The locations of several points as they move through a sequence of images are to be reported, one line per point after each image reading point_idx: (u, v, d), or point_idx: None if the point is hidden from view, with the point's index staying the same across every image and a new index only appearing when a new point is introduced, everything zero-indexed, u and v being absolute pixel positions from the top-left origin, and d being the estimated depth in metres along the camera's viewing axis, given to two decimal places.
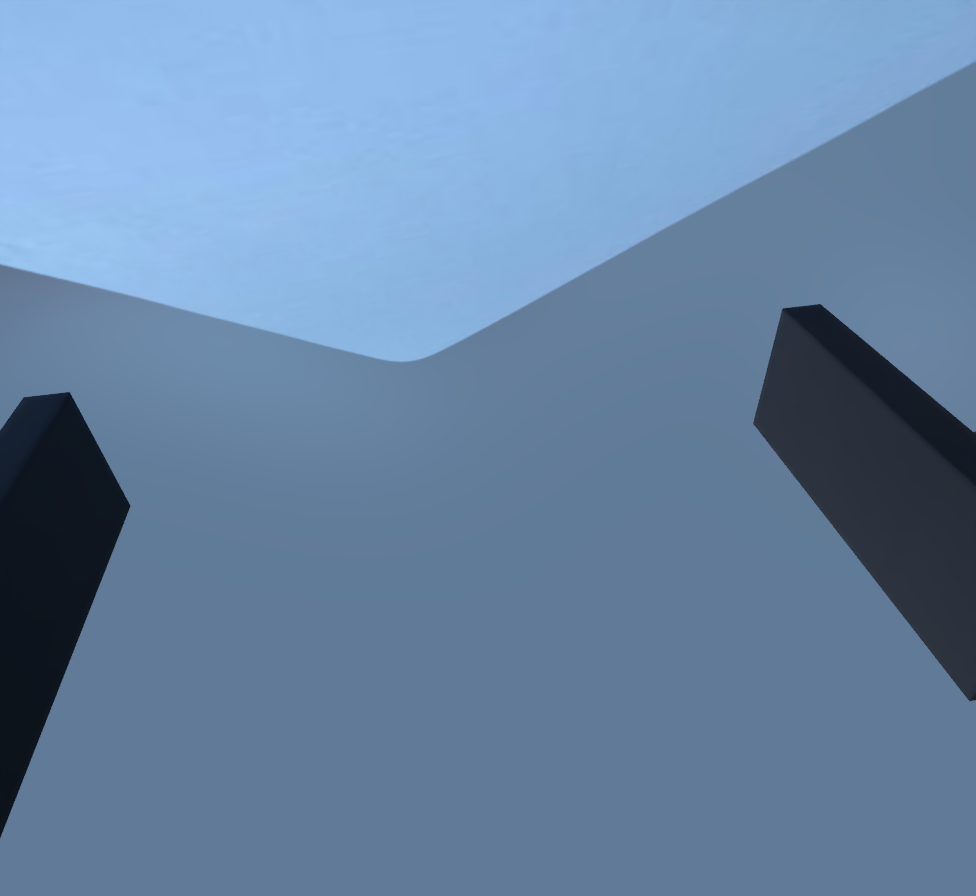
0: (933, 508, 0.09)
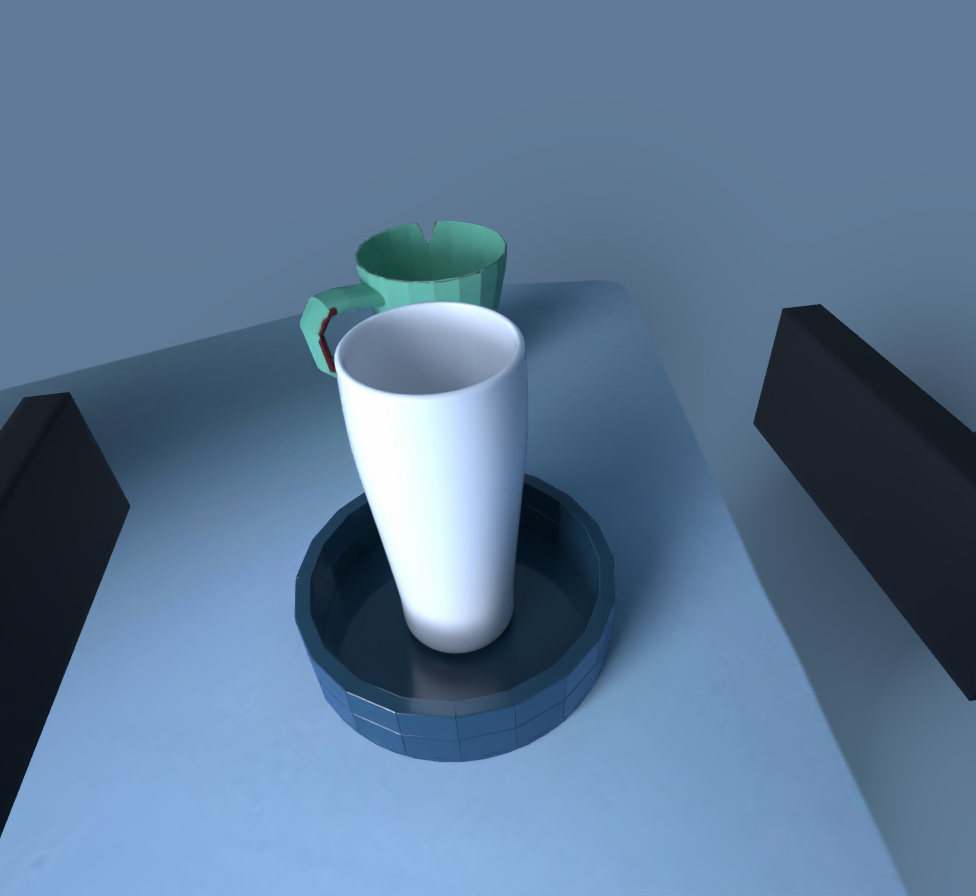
0: (934, 508, 0.09)
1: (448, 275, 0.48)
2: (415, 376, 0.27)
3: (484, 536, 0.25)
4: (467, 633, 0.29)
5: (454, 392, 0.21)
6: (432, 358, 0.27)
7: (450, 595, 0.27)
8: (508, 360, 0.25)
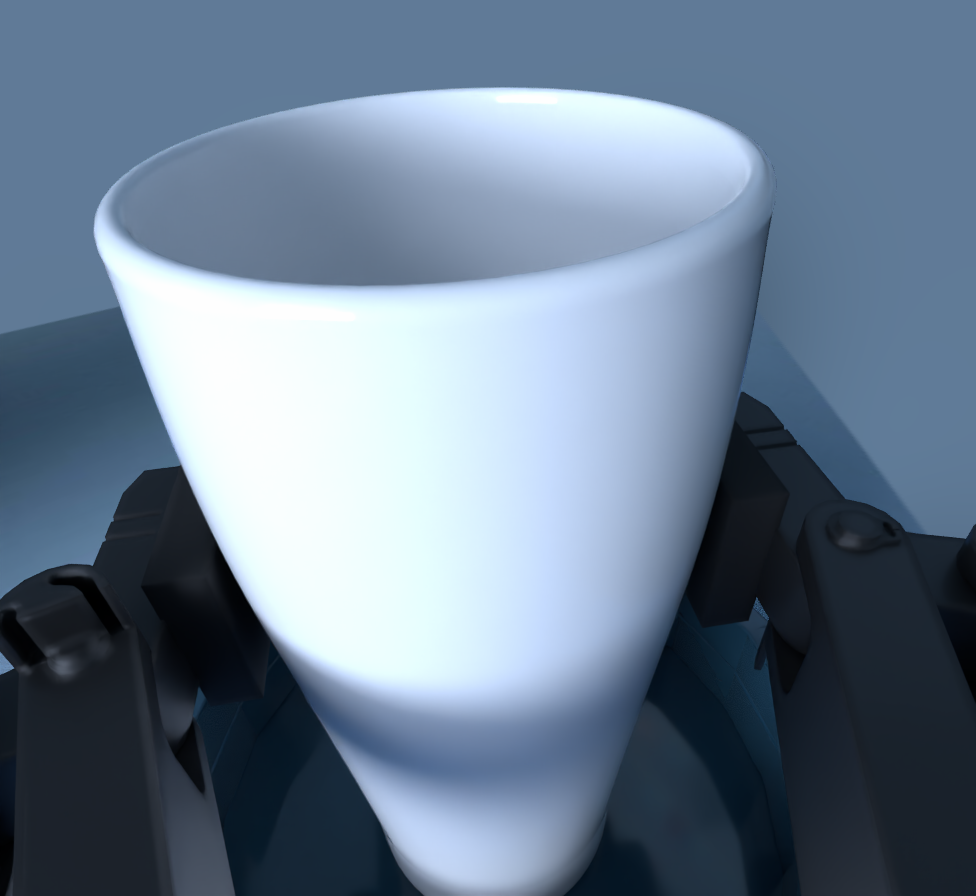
0: None
1: None
2: None
3: (591, 739, 0.09)
4: None
5: (556, 274, 0.04)
6: (442, 261, 0.11)
7: (487, 850, 0.11)
8: None
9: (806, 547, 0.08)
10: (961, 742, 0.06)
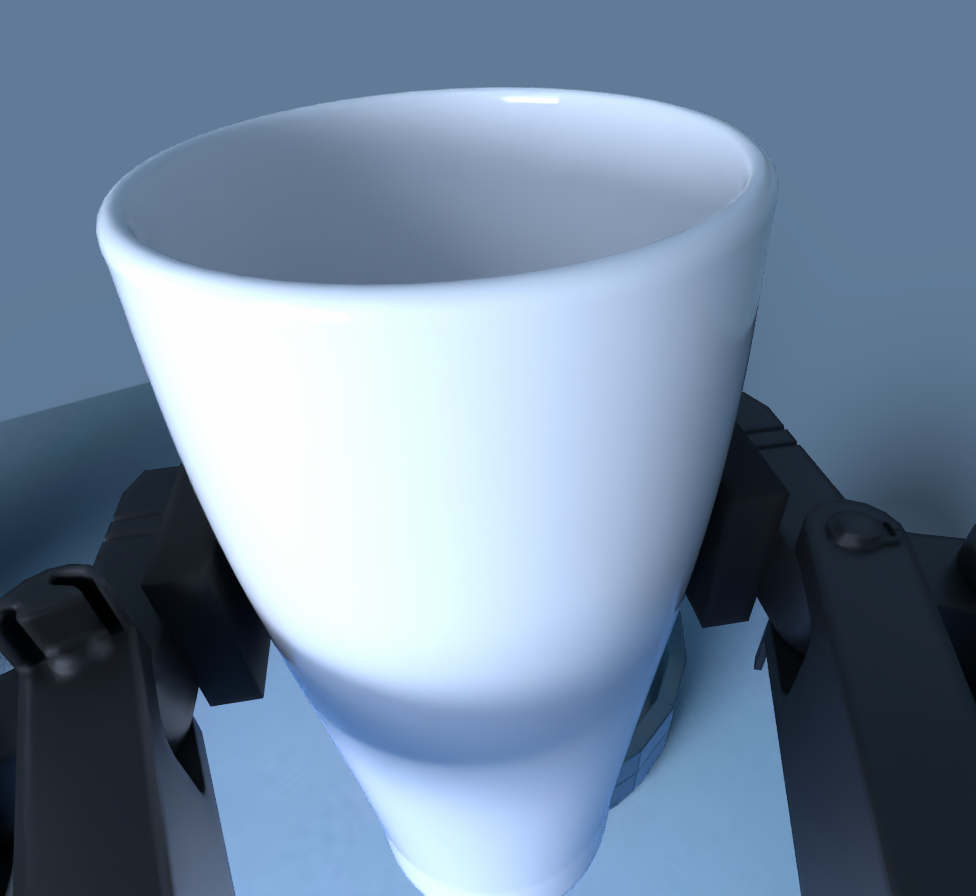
0: None
1: None
2: None
3: (591, 739, 0.09)
4: (520, 895, 0.13)
5: (558, 273, 0.04)
6: (443, 261, 0.11)
7: (488, 850, 0.11)
8: None
9: (806, 547, 0.08)
10: (961, 742, 0.06)
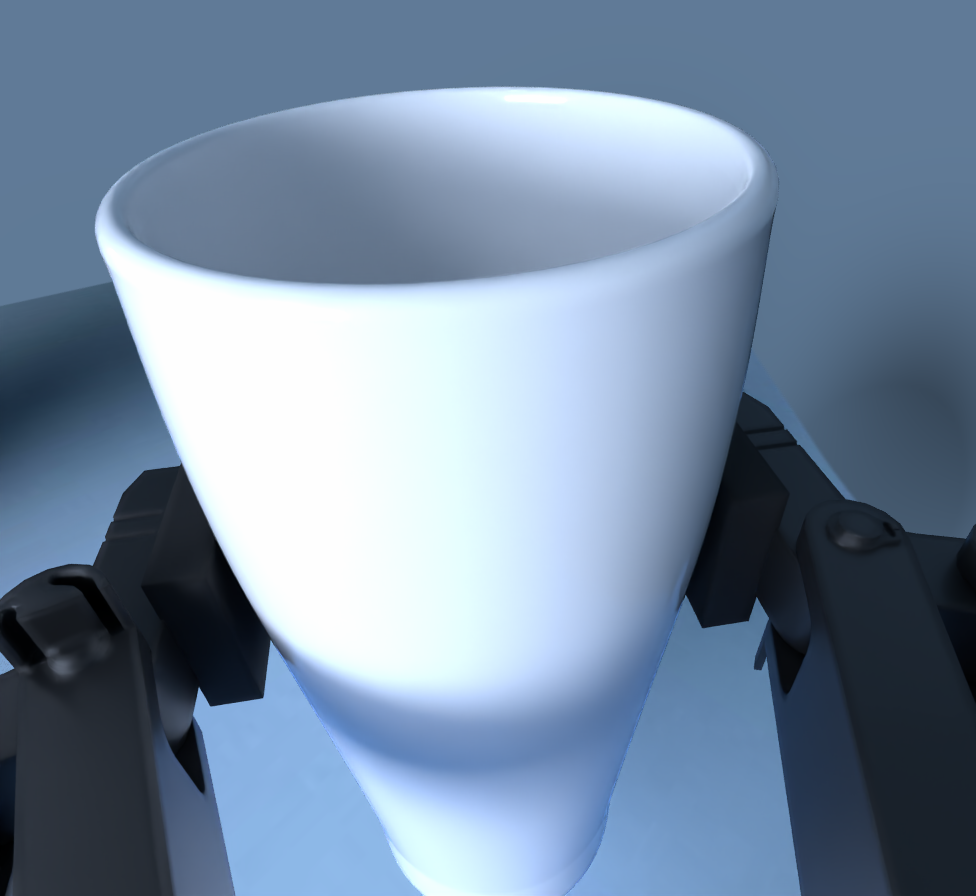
0: None
1: None
2: None
3: (592, 739, 0.09)
4: None
5: (558, 273, 0.04)
6: (442, 261, 0.11)
7: (488, 851, 0.11)
8: None
9: (806, 547, 0.08)
10: (961, 742, 0.06)
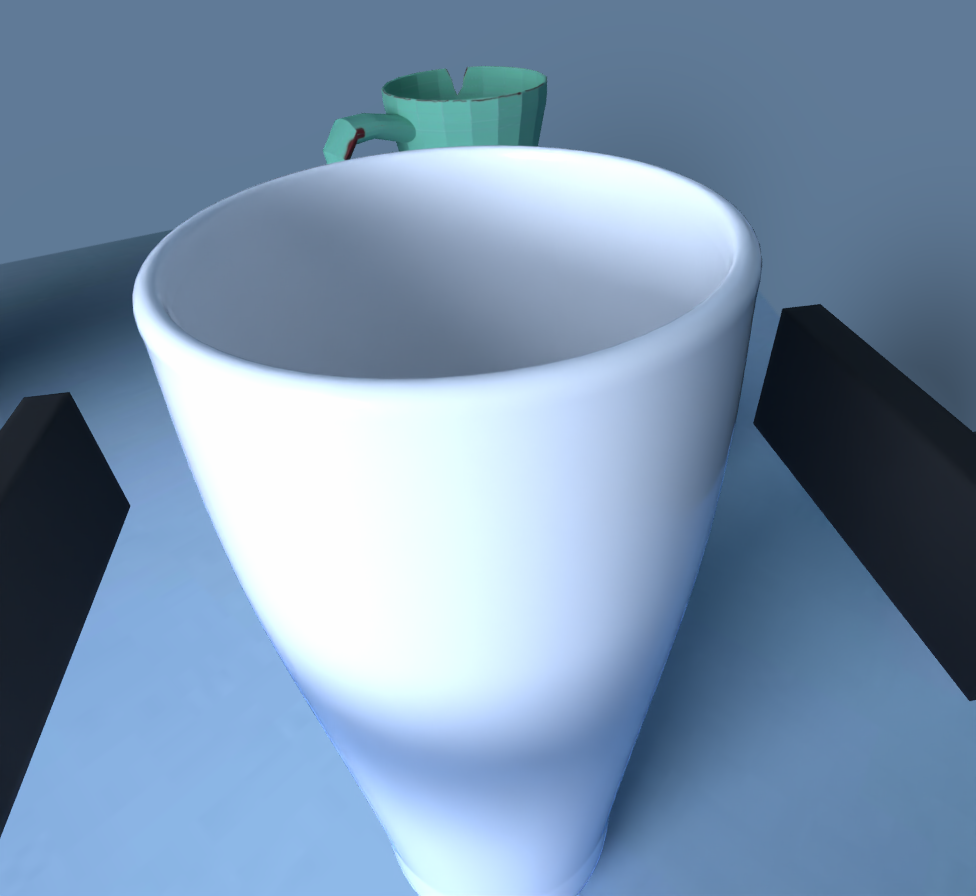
0: (934, 508, 0.09)
1: None
2: (408, 348, 0.12)
3: (591, 764, 0.09)
4: None
5: (558, 369, 0.05)
6: (449, 303, 0.11)
7: (492, 866, 0.11)
8: (654, 296, 0.09)
9: None
10: None
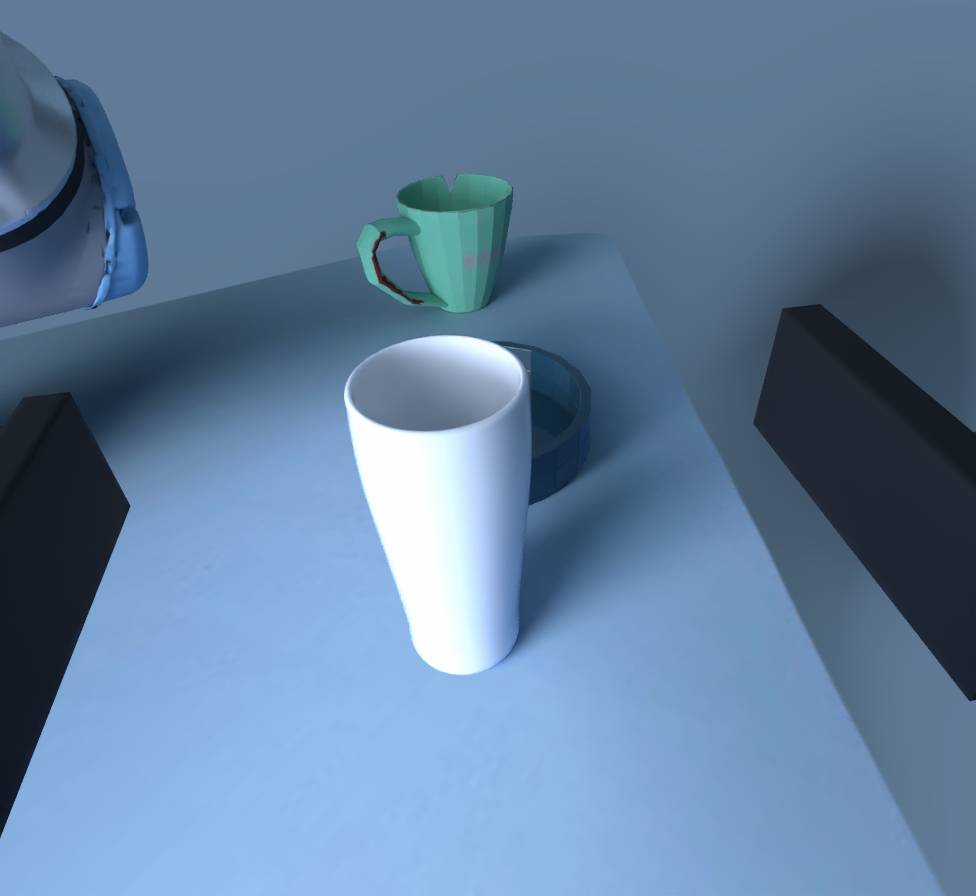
0: (934, 508, 0.09)
1: None
2: (422, 406, 0.28)
3: (490, 563, 0.26)
4: (473, 655, 0.30)
5: (460, 428, 0.21)
6: (438, 389, 0.28)
7: (457, 619, 0.28)
8: (512, 392, 0.26)
9: None
10: None
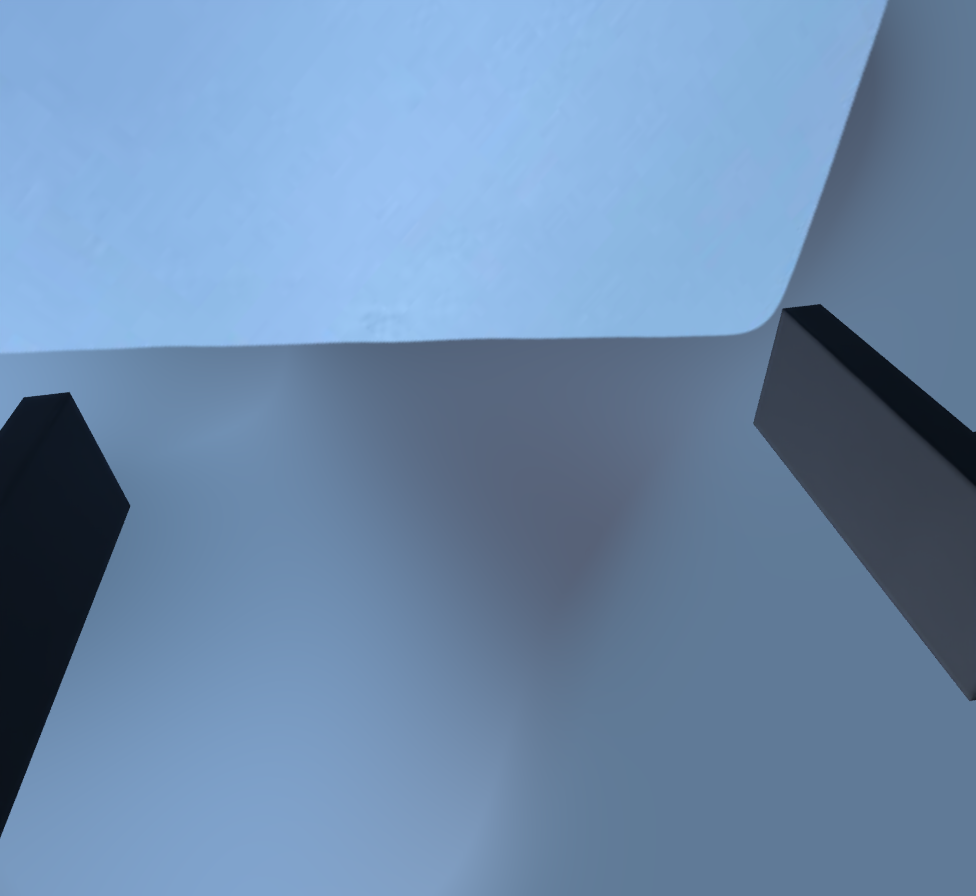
0: (934, 508, 0.09)
1: None
2: None
3: None
4: None
5: None
6: None
7: None
8: None
9: None
10: None
